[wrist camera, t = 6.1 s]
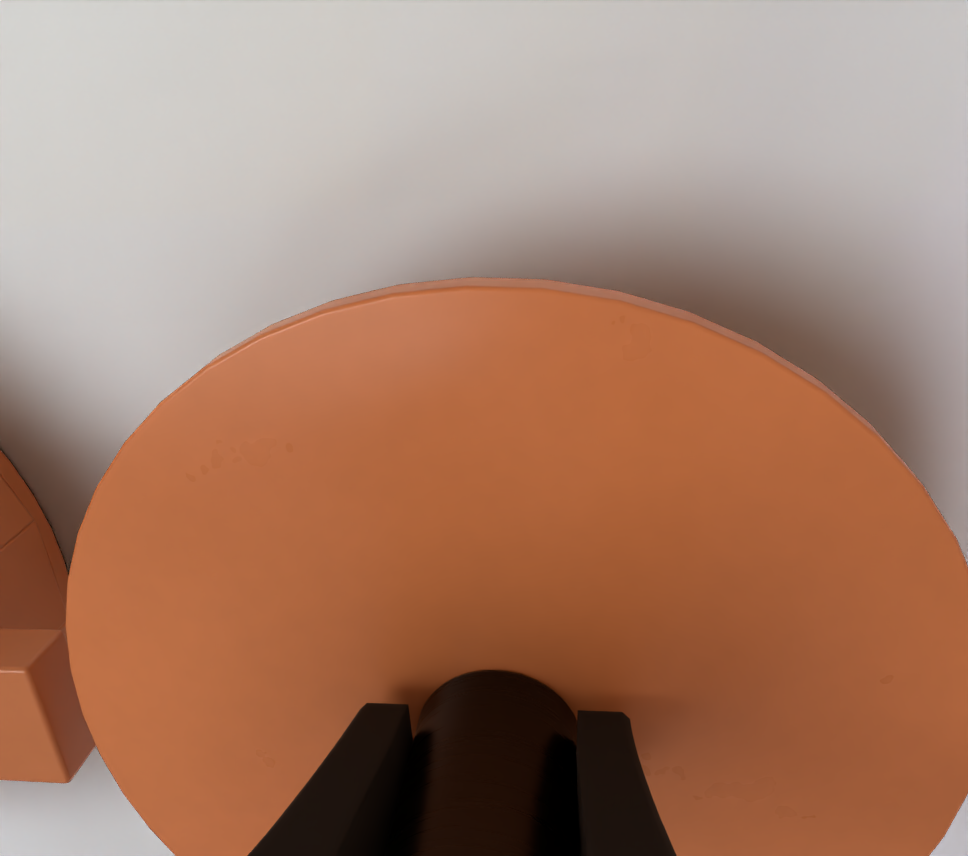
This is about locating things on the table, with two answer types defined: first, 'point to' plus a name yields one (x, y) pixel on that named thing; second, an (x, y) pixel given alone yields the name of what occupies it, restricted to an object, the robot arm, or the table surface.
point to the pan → (35, 646)
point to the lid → (523, 582)
